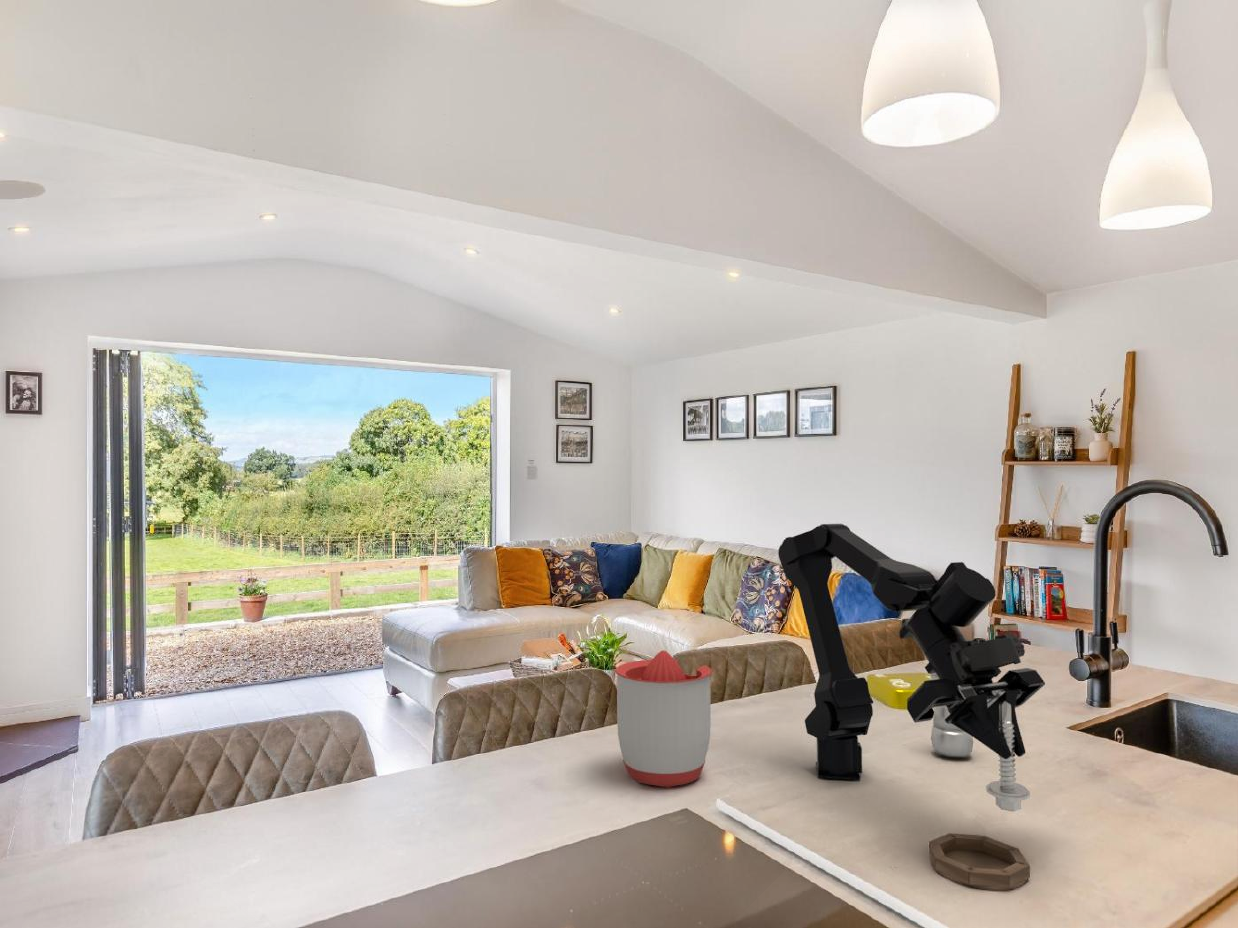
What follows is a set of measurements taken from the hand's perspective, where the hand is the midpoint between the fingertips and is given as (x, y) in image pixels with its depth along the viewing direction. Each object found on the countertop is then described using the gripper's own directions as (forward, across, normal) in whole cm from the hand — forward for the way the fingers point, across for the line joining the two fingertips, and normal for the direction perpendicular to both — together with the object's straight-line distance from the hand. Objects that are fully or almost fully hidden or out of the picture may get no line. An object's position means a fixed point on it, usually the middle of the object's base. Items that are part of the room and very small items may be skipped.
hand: (1015, 756), depth 95 cm
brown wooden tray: (+8, -5, +10) cm, 14 cm away
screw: (+4, 0, +6) cm, 7 cm away
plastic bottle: (-14, +23, +33) cm, 43 cm away
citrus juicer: (-22, -25, +42) cm, 53 cm away
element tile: (-36, +44, +56) cm, 79 cm away
